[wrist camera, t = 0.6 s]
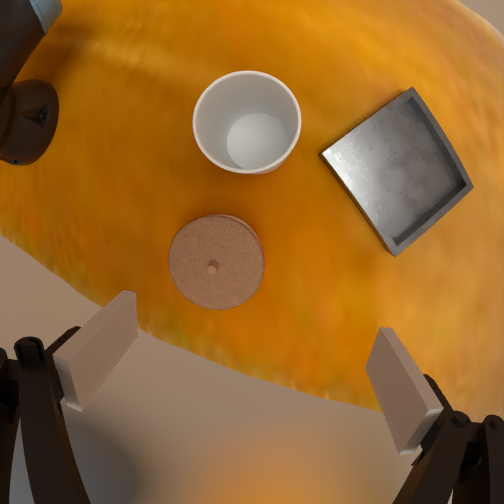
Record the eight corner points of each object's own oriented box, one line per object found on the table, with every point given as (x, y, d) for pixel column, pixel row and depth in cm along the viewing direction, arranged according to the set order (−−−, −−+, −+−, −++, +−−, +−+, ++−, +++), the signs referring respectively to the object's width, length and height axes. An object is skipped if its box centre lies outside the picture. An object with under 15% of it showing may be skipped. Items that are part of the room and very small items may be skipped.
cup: (218, 120, 36) (182, 87, 20) (281, 105, 35) (285, 60, 19) (233, 181, 38) (206, 185, 22) (297, 166, 37) (313, 159, 21)
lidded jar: (202, 195, 38) (180, 202, 29) (279, 226, 39) (280, 243, 30) (176, 268, 41) (151, 293, 32) (248, 297, 41) (240, 331, 32)
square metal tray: (318, 154, 36) (322, 153, 33) (403, 91, 33) (412, 86, 30) (386, 251, 38) (394, 257, 35) (462, 185, 35) (473, 187, 32)
